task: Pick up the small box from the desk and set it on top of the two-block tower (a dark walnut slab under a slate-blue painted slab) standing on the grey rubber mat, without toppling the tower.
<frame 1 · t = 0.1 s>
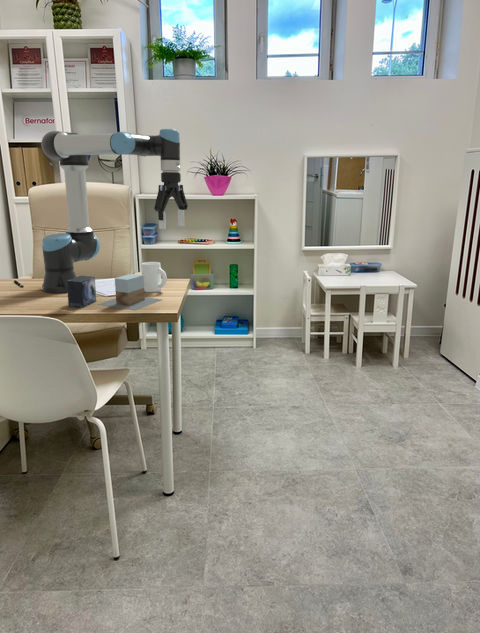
hand: (172, 227, 192), 28 cm above the table, tool pointing down, fingers open, 13 cm apart
mat: (130, 302, 187), on the table
mug: (155, 291, 206), on the table
block top: (130, 289, 185), point 5 cm above the table, touching block bottom
small box: (83, 305, 183), on the table
block bottom: (130, 301, 187), resting on mat, touching block top
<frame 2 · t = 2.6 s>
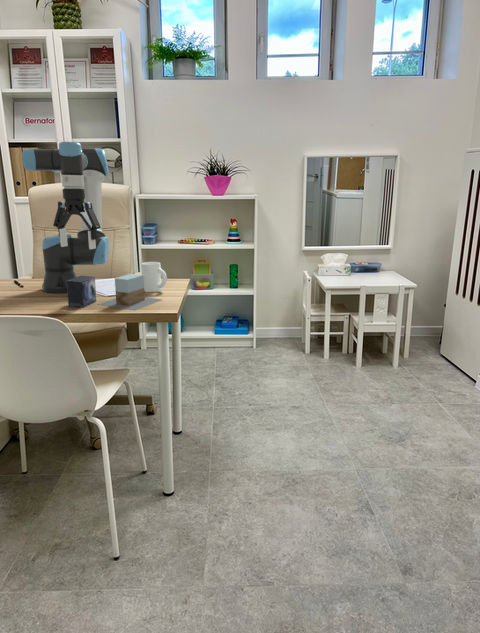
hand: (78, 247, 177), 22 cm above the table, tool pointing down, fingers open, 13 cm apart
nothing on the table moved.
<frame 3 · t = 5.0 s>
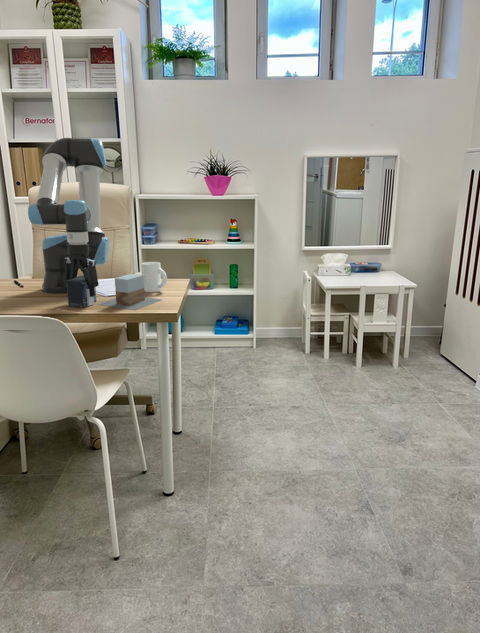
hand: (82, 303, 183), 1 cm above the table, tool pointing down, fingers closed on small box, 7 cm apart
small box: (83, 305, 183), on the table, touching gripper
everything else where it was.
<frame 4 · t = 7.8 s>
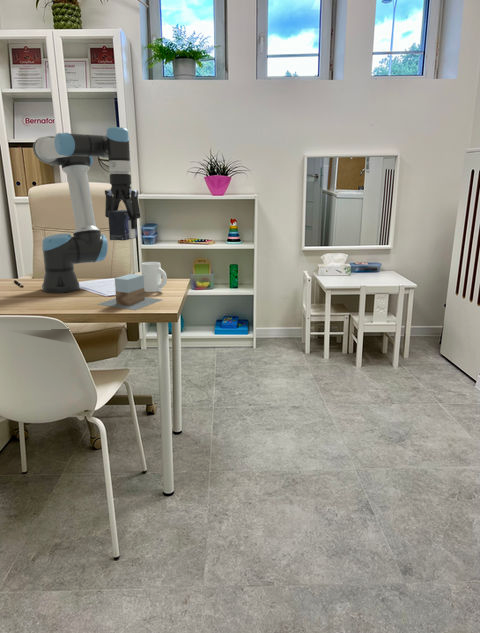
hand: (124, 237, 179), 25 cm above the table, tool pointing down, fingers closed on small box, 7 cm apart
small box: (124, 239, 179), point 25 cm above the table, touching gripper
everything else where it was.
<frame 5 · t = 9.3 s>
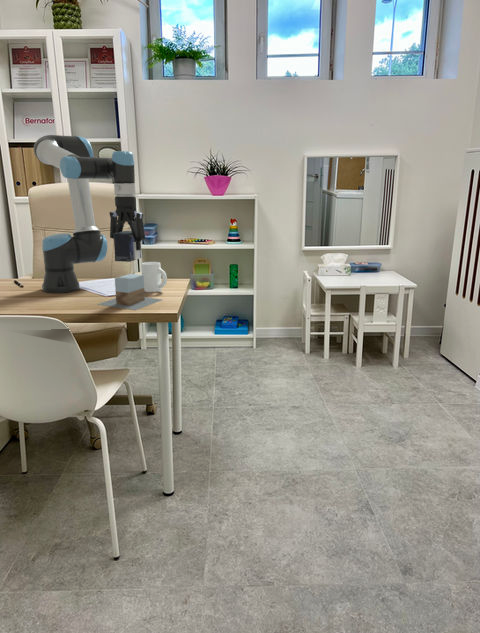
hand: (128, 258, 182), 18 cm above the table, tool pointing down, fingers closed on small box, 7 cm apart
small box: (128, 260, 182), point 17 cm above the table, touching gripper
everything else where it was.
when the fingers open (13 cm above the table, at t = 10.6 s): small box drops 1 cm, resting on block top.
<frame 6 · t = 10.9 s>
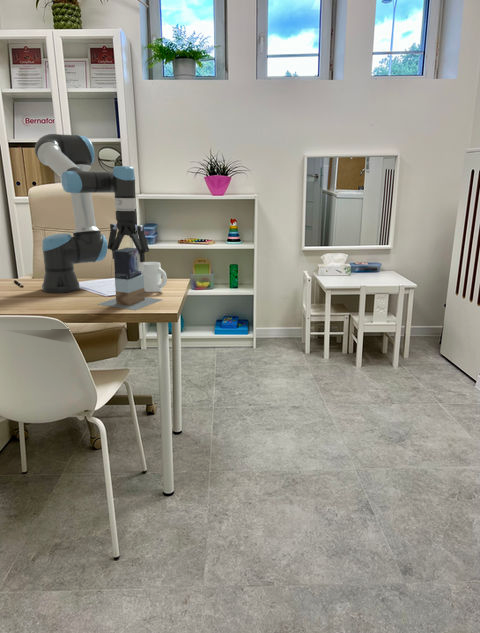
hand: (129, 269, 183), 13 cm above the table, tool pointing down, fingers open, 10 cm apart
block top: (130, 289, 185), point 5 cm above the table, touching block bottom, small box
small box: (128, 277, 184), point 10 cm above the table, touching block top
everything else where it was.
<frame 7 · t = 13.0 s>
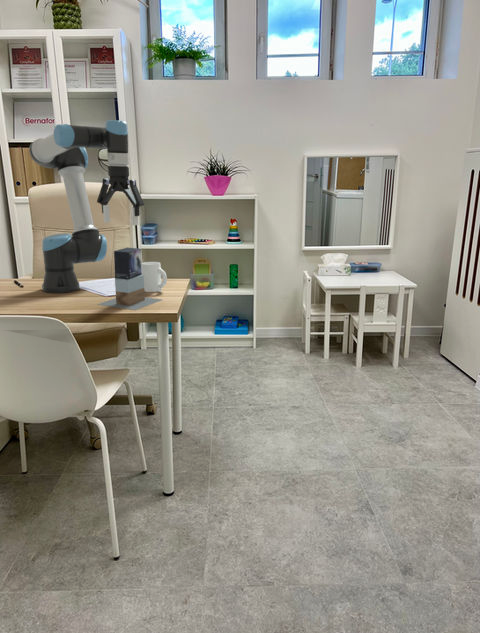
hand: (121, 223, 184), 30 cm above the table, tool pointing down, fingers open, 13 cm apart
nothing on the table moved.
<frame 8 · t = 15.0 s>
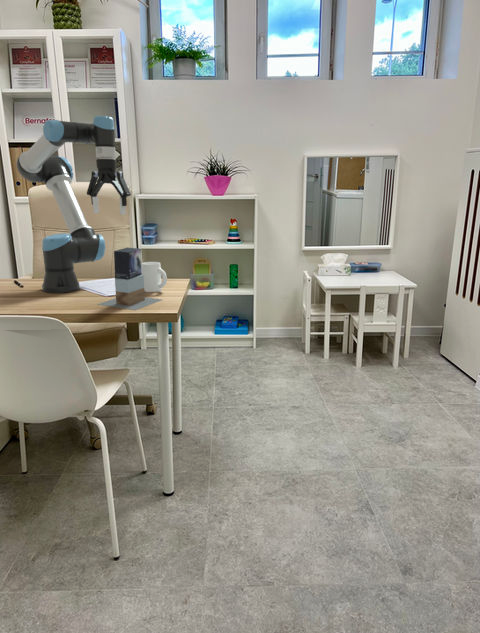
hand: (109, 213, 194), 33 cm above the table, tool pointing down, fingers open, 13 cm apart
nothing on the table moved.
at the end: small box 0.2 cm off-centre on the block top, point 4.8 cm above the block top's base; block top 0.0 cm off-centre on the block bottom, point 5.0 cm above the block bottom's base; block top tilted 0° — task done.
